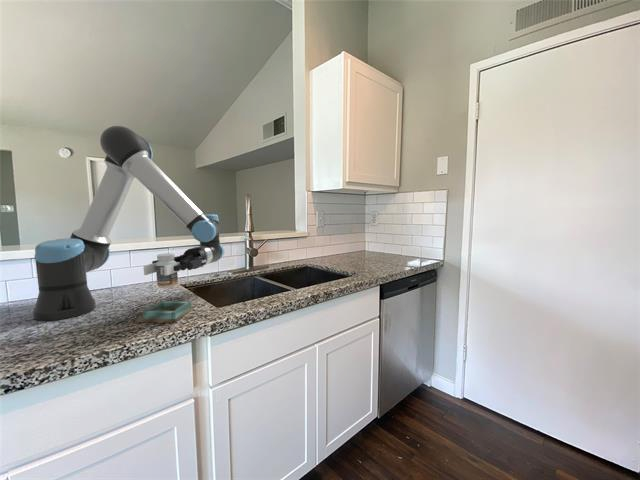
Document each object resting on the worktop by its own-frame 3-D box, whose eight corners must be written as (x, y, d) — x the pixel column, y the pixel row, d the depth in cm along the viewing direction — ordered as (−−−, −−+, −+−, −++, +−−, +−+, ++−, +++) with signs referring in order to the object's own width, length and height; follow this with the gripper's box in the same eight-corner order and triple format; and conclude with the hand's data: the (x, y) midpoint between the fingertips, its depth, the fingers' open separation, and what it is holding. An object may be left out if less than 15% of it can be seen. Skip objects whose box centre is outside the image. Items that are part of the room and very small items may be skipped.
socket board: (135, 322, 85) (135, 312, 85) (155, 310, 95) (155, 301, 95) (175, 322, 85) (175, 312, 84) (191, 310, 95) (191, 301, 94)
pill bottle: (177, 287, 87) (175, 255, 86) (155, 289, 85) (153, 256, 84) (178, 283, 93) (177, 252, 91) (158, 284, 90) (156, 253, 89)
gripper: (222, 267, 105) (186, 284, 82) (174, 266, 107) (126, 282, 84) (221, 247, 105) (184, 258, 82) (173, 247, 107) (124, 257, 84)
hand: (155, 270), depth 83 cm, fingers closed on pill bottle, 6 cm apart
